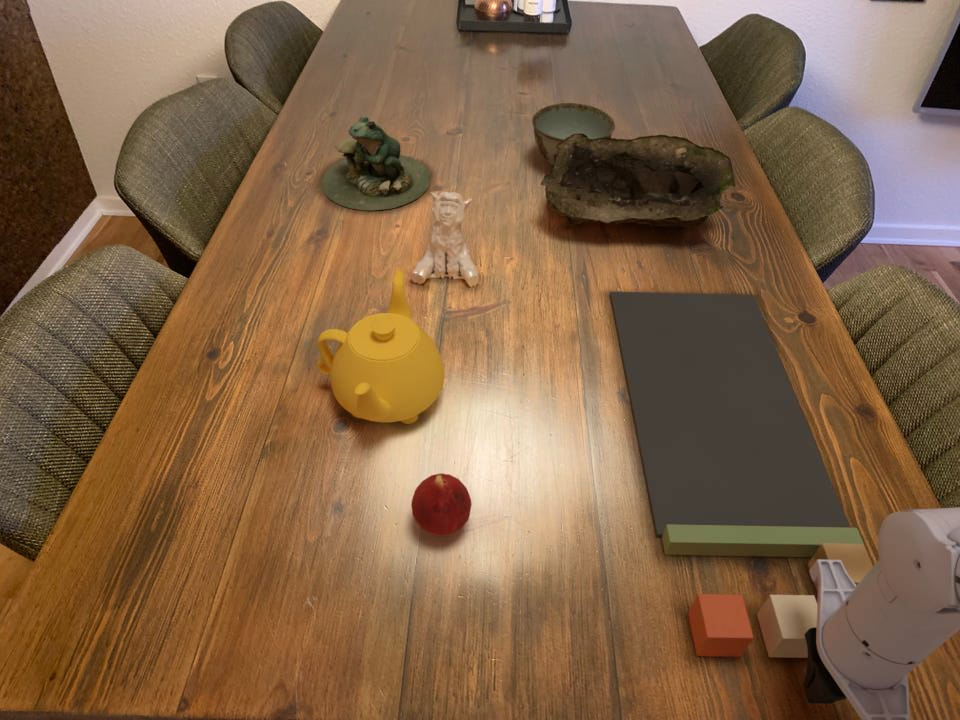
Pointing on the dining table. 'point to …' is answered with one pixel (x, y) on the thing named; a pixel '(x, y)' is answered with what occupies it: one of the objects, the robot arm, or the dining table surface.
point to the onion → (441, 504)
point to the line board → (722, 430)
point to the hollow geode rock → (637, 180)
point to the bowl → (568, 126)
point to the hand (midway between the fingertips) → (817, 694)
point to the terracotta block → (720, 625)
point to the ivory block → (787, 624)
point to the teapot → (384, 364)
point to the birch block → (845, 559)
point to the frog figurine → (374, 171)
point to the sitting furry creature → (447, 243)
